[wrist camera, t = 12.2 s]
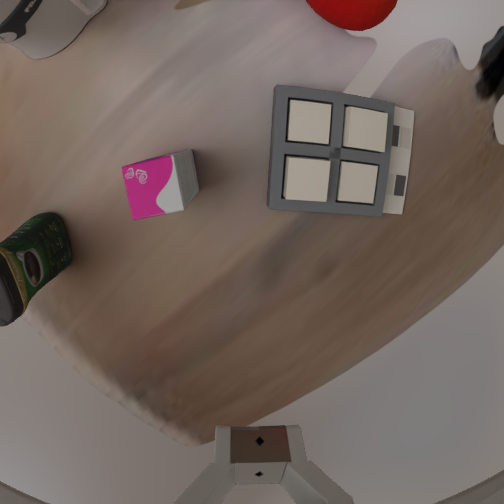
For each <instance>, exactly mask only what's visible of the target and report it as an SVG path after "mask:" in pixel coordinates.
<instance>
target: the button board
mask: <svg viewBox="0 0 504 504" xmlns="http://www.w3.org/2000/svg"><path fill="white" fill-rule="evenodd" d="M290 100H297V101H306V102H315V103H322V104H330V105H331V118H330V132H329V144H323V143H314V142H304V141H292V140H285V137H286V122H287V106H288V101H290ZM344 107H357V108H362V109H368V110H373V111H378V112H383V113H388V118H387V131H386V142H385V152H380V151H374V150H367V149H360V148H353V147H346V146H342V134H343V121H344ZM413 124H414V111H412V110H408V109H404V108H400V107H396V106H395V104H394V103H390V102H386V101H381V100H377V99H372V98H367V97H361V96H356V95H351V94H345V93H339V92H333V91H326V90H319V89H312V88H303V87H294V86H284V85H276V86H275V87H274V97H273V114H272V130H271V147H270V162H269V178H268V193H267V206H268V208H269V209H270V210H290V211H308V212H324V213H339V214H353V215H366V216H378V217H382V214H383V213H392V214H402V211H403V205H404V199H405V193H406V186H407V179H408V172H409V164H410V155H411V146H412V136H413ZM286 156H295V157H307V158H318V159H326V160H328V161H331V162H330V172H329V182H328V191H327V200H326V202H320V201H306V200H289V199H285V197H284V196H283V189H284V176H285V163H286ZM340 160H344V161H352V162H360V163H368V164H373V165H376V166H378V170H377V178H376V186H375V193H374V200H373V203H363V202H352V201H340V200H337V199H336V193H337V184H338V174H339V165H340Z"/></svg>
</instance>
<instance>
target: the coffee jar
mask: <svg viewBox="0 0 504 504" xmlns="http://www.w3.org/2000/svg"><path fill="white" fill-rule="evenodd" d="M71 260H72V253H71V247H70V243H69V239H68V236H67V233H66V230H65V227H64V225H63V222H62V221H61V219H60V218H59V217H58V216H57V215H55V214H54V213H42V214H38V215H36V216H34V217H32V218H31V219H29V220H28V221H26V222H25V223H24V224H23V225H21V226H20V227H19V228H18V229H17V230H16V231H15V232H13V233H12V234H11V235H10V236H9V237H7V238H6V239H5V240H4V241H2V242H1V243H0V326H6V325H9V324H10V323H12V322H14V321H15V320H16V319H17V318H18V317H20V316H21V315H22V314H23V313H24V312H25V310H26V308H27V306H28V303H29V301H30V300H31V298H32V297H33V296H34V295H35V294H36V293H37V292H38V291H39V290H40V289H41V288H42V287H43V286H44V285H46V284H47V283H48V282H49V281H51V280H52V279H53V278H55V277H56V276H57V275H59V274H60V273H61V272H63V271H64V270H65V269H66V268H67V267H68V266H69V265H70V263H71Z"/></svg>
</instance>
